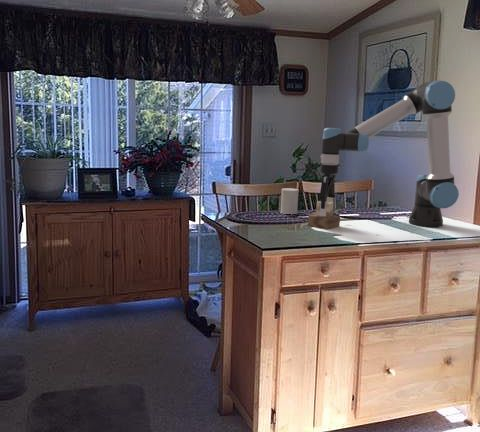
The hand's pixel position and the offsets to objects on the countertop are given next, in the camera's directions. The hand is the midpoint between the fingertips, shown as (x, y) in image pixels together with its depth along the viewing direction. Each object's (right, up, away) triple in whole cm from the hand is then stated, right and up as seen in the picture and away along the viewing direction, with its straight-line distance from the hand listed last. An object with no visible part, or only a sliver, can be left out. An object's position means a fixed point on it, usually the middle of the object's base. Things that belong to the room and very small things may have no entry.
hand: (325, 213), depth 236 cm
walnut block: (-1, -6, +1) cm, 6 cm away
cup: (-14, 0, +27) cm, 30 cm away
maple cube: (-1, -1, 0) cm, 1 cm away
